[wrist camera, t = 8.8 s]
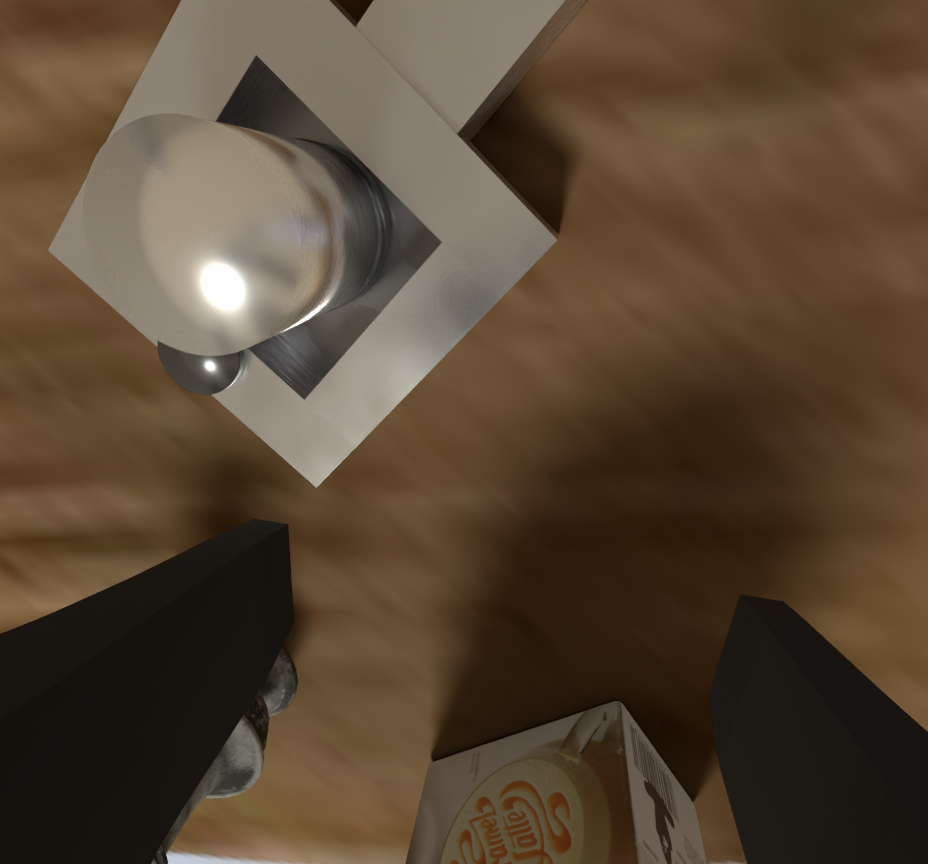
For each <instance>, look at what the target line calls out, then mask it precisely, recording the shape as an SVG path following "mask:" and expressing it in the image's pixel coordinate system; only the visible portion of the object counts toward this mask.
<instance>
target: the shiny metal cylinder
mask: <svg viewBox="0 0 928 864" xmlns="http://www.w3.org/2000/svg"><path fill="white" fill-rule="evenodd" d="M83 221H84V230H85V236H86V240H87V245H88V249H89V252H90V255H91V258H92V261H93V264H94V266H95V268H96V271H97V273H98V275H99V277H100V279H101V281H102V283H103V284H104V286H105V288H106V290H107V291H108V293H109V294H110V296H111V297H112V298H113V300H114V301H115V303H116V304H117V305H118V306H119V308H120V309H121V310H122V311H123V312H124V313H125V315H126V316H127V317H128V318H129V319H131V320H132V321H133V322H134V323H135V324H136V325H137V326H138V327H139V328H141V329H142V330H143V331H144V332H146V333H147V334H148V335H150V336H152V337H153V338H155V339H156V340H158V341H160V342H161V343H163V344H166V345H168V346H170V347H172V348H174V349H177V350H180V351H183V352H186V353H191V354H196V355H204V356H219V355H227V354H232V353H236V352H239V351H241V350H244V349H247V348H249V347H251V346H253V345H255V344H258V343H260V342H262V341H264V340H266V339H268V338H271V337H273V336H275V335H277V334H279V333H281V332H284V331H286V330H288V329H290V328H292V327H294V326H297V325H299V324H301V323H303V322H305V321H307V320H309V319H312V318H314V317H316V316H318V315H320V314H322V313H325V312H329V311H332V310H335V309H337V308H340V307H342V306H344V305H346V304H348V303H350V302H352V301H354V300H356V299H358V298H359V297H361V296H362V295H363V294H365V293H366V292H367V291H368V290H369V289H370V288H371V287H372V286H373V285H374V284H375V282H376V281H377V279H378V278H379V277H380V275H381V273H382V271H383V269H384V267H385V264H386V261H387V258H388V254H389V250H390V242H391V224H390V218H389V212H388V209H387V205H386V202H385V199H384V197H383V194H382V192H381V190H380V188H379V187H378V185H377V183H376V181H375V180H374V178H373V177H372V176H371V174H370V173H369V172H368V171H367V170H366V168H365V167H364V166H363V165H362V164H361V163H360V162H358V161H357V160H356V159H355V158H354V157H352V156H351V155H349V154H348V153H346V152H345V151H343V150H341V149H339V148H337V147H335V146H332V145H329V144H325V143H322V142H317V141H313V140H308V139H302V138H289V137H285V136H280V135H276V134H271V133H267V132H262V131H257V130H253V129H248V128H244V127H239V126H235V125H230V124H226V123H221V122H217V121H212V120H207V119H203V118H198V117H194V116H189V115H182V114H176V113H161V114H155V115H149V116H145V117H142V118H139V119H136V120H134V121H132V122H130V123H128V124H127V125H125V126H123V127H121V128H120V129H119V130H118V131H117V132H115V133H114V134H113V135H112V136H111V137H110V138H109V139H108V140H107V141H106V142H105V144H104V145H103V146H102V147H101V149H100V151H99V152H98V154H97V155H96V157H95V159H94V161H93V164H92V166H91V168H90V171H89V174H88V177H87V181H86V185H85V191H84V199H83Z"/></svg>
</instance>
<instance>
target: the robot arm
mask: <svg viewBox="0 0 928 864" xmlns="http://www.w3.org/2000/svg"><path fill="white" fill-rule="evenodd" d="M293 623H294V615H293V598H292V581H291V564H290V547H289V530H288V524H283V523H276V522H270V521H263V520H257V519H253V520H251V521H248V522H246V523H243V524H241V525H238V526H236V527H234V528H232V529H230V530H228V531H225V532H223V533H221V534H219V535H217V536H215V537H213V538H211V539H209V540H207V541H205V542H203V543H201V544H199V545H197V546H195V547H193V548H191V549H189V550H187V551H185V552H183V553H180V554H178V555H176V556H174V557H172V558H170V559H168V560H166V561H164V562H162V563H160V564H158V565H156V566H154V567H152V568H150V569H148V570H146V571H144V572H142V573H140V574H137V575H135V576H133V577H131V578H129V579H127V580H125V581H123V582H120V583H118V584H116V585H114V586H111V587H109V588H107V589H105V590H103V591H100V592H98V593H96V594H94V595H91V596H89V597H87V598H85V599H82V600H80V601H78V602H76V603H74V604H71V605H69V606H67V607H65V608H62V609H60V610H58V611H56V612H53V613H51V614H49V615H46V616H44V617H41V618H39V619H37V620H34V621H32V622H29V623H27V624H24V625H22V626H19V627H17V628H14V629H12V630H9V631H7V632H4V633H1V634H0V864H151V863H152V861H153V859H154V857H155V856H156V854H157V852H158V850H159V848H160V846H161V844H162V843H163V841H164V839H165V838H166V836H167V834H168V833H169V831H170V829H171V828H172V826H173V824H174V823H175V821H176V819H177V818H178V816H179V814H180V813H181V811H182V809H183V808H184V806H185V805H186V803H187V802H188V800H189V799H190V797H191V796H192V794H193V792H194V791H195V789H196V788H197V786H198V785H199V783H200V782H201V780H202V779H203V777H204V775H205V774H206V772H207V771H208V769H209V768H210V766H211V765H212V763H213V762H214V760H215V759H216V757H217V755H218V754H219V752H220V751H221V749H222V748H223V746H224V745H225V743H226V742H227V740H228V739H229V737H230V735H231V734H232V732H233V731H234V729H235V728H236V726H237V725H238V723H239V722H240V720H241V718H242V717H243V715H244V714H245V712H246V711H247V709H248V708H249V706H250V704H251V703H252V701H253V700H254V698H255V697H256V695H257V693H258V692H259V690H260V689H261V687H262V685H263V684H264V682H265V681H266V679H267V677H268V675H269V673H270V671H271V669H272V667H273V665H274V663H275V661H276V659H277V657H278V655H279V653H280V651H281V649H282V647H283V645H284V643H285V640H286V638H287V636H288V634H289V632H290V630H291V627H292V625H293ZM708 697H709V704H710V711H711V718H712V724H713V731H714V737H715V743H716V749H717V755H718V760H719V766H720V769H721V773H722V777H723V780H724V784H725V787H726V791H727V795H728V798H729V802H730V805H731V809H732V812H733V816H734V819H735V823H736V826H737V830H738V833H739V837H740V840H741V843H742V847H743V850H744V854H745V857H746V861H747V864H928V732H927V731H926V730H925V729H924V728H923V727H921V726H920V725H919V724H918V723H917V722H916V721H915V720H914V719H912V718H911V717H910V716H909V715H908V714H907V713H906V712H905V711H903V710H902V709H901V708H900V707H899V706H898V705H897V704H896V703H895V702H894V701H892V700H891V699H890V698H889V697H888V696H887V695H886V694H885V693H884V692H882V691H881V690H880V689H879V688H878V687H877V686H876V685H875V684H874V683H873V682H872V681H870V680H869V679H868V678H867V677H866V676H865V675H864V674H863V673H862V672H861V671H860V670H858V669H857V668H856V667H855V666H854V665H853V664H852V663H851V662H850V661H849V660H848V659H847V658H846V657H844V656H843V655H842V654H841V653H840V652H839V651H838V650H837V649H836V648H835V647H834V646H833V645H832V644H830V643H829V642H828V641H827V640H826V639H825V638H824V637H823V636H822V635H821V634H820V633H819V632H817V631H816V630H815V629H814V628H813V627H812V626H811V625H810V624H809V623H808V622H806V621H805V620H804V619H803V618H802V617H801V616H800V615H799V614H797V613H796V612H795V611H794V610H793V609H792V608H790V607H789V606H788V605H787V604H786V603H784V602H783V601H777V600H771V599H764V598H758V597H752V596H745V595H740V596H739V599H738V603H737V606H736V609H735V612H734V616H733V619H732V622H731V625H730V628H729V632H728V635H727V638H726V641H725V644H724V648H723V651H722V654H721V657H720V661H719V664H718V667H717V670H716V673H715V677H714V680H713V683H712V686H711V690H710V693H709V696H708Z"/></svg>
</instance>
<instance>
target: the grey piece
mask: <svg viewBox="0 0 928 864" xmlns="http://www.w3.org/2000/svg"><path fill="white" fill-rule="evenodd" d="M586 1H587V0H373V2H372V3H371V5H370V6H369V8H368V9H367V11H366V12H365V14H364V15H363V17H362V18H361V20H360V21H359V23H357V21H356V20H355V19H354V18H353V17H352V16H351V15H350V14H349V13H348V12H347V11H346V10H345V9H344V8H343V7H342V6H341V5H340V4H339V3H338V1H337V0H181V2H180V4H179V6H178V8H177V10H176V11H175V13H174V15H173V17H172V19H171V21H170V23H169V25H168V26H167V28H166V30H165V32H164V34H163V36H162V38H161V40H160V41H159V43H158V45H157V47H156V49H155V51H154V53H153V55H152V56H151V58H150V60H149V62H148V64H147V66H146V68H145V70H144V71H143V73H142V75H141V77H140V79H139V81H138V83H137V85H136V86H135V88H134V90H133V92H132V94H131V96H130V98H129V100H128V101H127V103H126V105H125V107H124V109H123V111H122V113H121V115H120V116H119V118H118V120H117V122H116V124H115V126H114V128H113V130H112V131H111V133H110V135H109V137H108V139H109V138H110V137H111V136H112V135H113V134H114V133H115V132H117V131H118V130H119V129H120V128H121V127H123V126H125V125H127V124H128V123H130V122H132V121H134V120H136V119H139V118H142V117H145V116H149V115H155V114H161V113H176V114H182V115H189V116H194V117H198V118H203V119H207V120H212V121H217V122H221V123H226V124H230V125H235V126H239V127H244V128H248V129H253V130H257V131H262V132H267V133H271V134H276V135H280V136H285V137H289V138H302V139H308V140H313V141H317V142H322V143H325V144H329V145H332V146H335V147H337V148H339V149H341V150H343V151H345V152H346V153H348V154H349V155H351V156H352V157H354V158H355V159H356V160H357V161H358V162H360V163H361V164H362V165H363V166H364V167H365V168H366V170H367V171H368V172H369V173H370V174H371V176H372V177H373V178H374V180H375V181H376V183H377V185H378V187H379V188H380V190H381V192H382V194H383V197H384V199H385V202H386V205H387V209H388V212H389V218H390V224H391V242H390V250H389V254H388V258H387V261H386V264H385V267H384V269H383V271H382V273H381V275H380V277H379V278H378V279H377V281H376V282H375V284H374V285H373V286H372V287H371V288H370V289H369V290H368V291H367V292H366V293H365V294H363V295H362V296H361V297H359V298H358V299H356V300H354V301H352V302H350V303H348V304H346V305H344V306H342V307H340V308H337V309H335V310H332V311H329V312H325V313H322V314H320V315H318V316H316V317H314V318H312V319H309V320H307V321H305V322H303V323H301V324H299V325H297V326H294V327H292V328H290V329H288V330H286V331H284V332H281V333H279V334H277V335H275V336H273V337H271V338H268V339H266V340H264V341H262V342H260V343H258V344H255V345H253V346H251V347H249V348H247V349H244V350H241V351H239V352H236V353H232V354H227V355H219V356H204V355H196V354H191V353H186V352H183V351H180V350H177V349H174V348H172V347H170V346H168V345H166V344H163V343H161V342H160V341H158V340H156V339H155V338H153V337H152V336H150V335H148V334H147V333H146V332H144V331H143V330H142V329H141V328H139V327H138V326H137V325H136V324H135V323H134V322H133V321H132V320H131V319H129V318H128V317H127V316H126V315H125V313H124V312H123V311H122V310H121V309H120V308H119V306H118V305H117V304H116V303H115V301H114V300H113V298H112V297H111V296H110V294H109V293H108V291H107V290H106V288H105V286H104V284H103V283H102V281H101V279H100V277H99V275H98V273H97V271H96V268H95V266H94V264H93V261H92V258H91V255H90V252H89V249H88V245H87V240H86V236H85V230H84V221H83V199H84V191H85V185H86V181H87V178H86V180H85V182H84V184H83V186H82V188H81V190H80V191H79V193H78V195H77V197H76V199H75V201H74V203H73V205H72V206H71V208H70V210H69V212H68V214H67V216H66V218H65V220H64V221H63V223H62V225H61V227H60V229H59V231H58V233H57V235H56V236H55V238H54V240H53V242H52V244H51V246H50V248H49V249H48V251H49V252H51V253H52V254H53V255H54V256H55V257H56V258H57V259H58V260H60V261H61V262H62V263H63V264H64V265H65V266H66V267H68V268H69V269H70V270H71V271H72V272H73V273H74V274H75V275H77V276H78V277H79V278H80V279H81V280H82V281H83V282H84V283H86V284H87V285H88V286H89V287H90V288H91V289H92V290H94V291H95V292H96V293H97V294H98V295H99V296H100V297H101V298H103V299H104V300H105V301H106V302H107V303H108V304H109V305H111V306H112V307H113V308H114V309H115V310H116V311H117V312H118V313H120V314H121V315H122V316H123V317H124V318H125V319H126V320H127V321H129V322H130V323H131V324H132V325H133V326H134V327H135V328H137V329H138V330H139V331H140V332H141V333H142V334H143V335H144V336H146V337H147V338H148V339H149V340H150V341H151V342H152V343H153V344H155V345H156V346H157V347H158V353H159V357H160V360H161V362H162V364H163V366H164V368H165V370H166V371H167V373H168V374H169V375H170V377H171V378H172V379H173V380H174V381H175V382H176V383H177V384H179V385H180V386H181V387H183V388H184V389H186V390H188V391H190V392H193V393H196V394H201V395H212V396H213V397H215V398H216V399H217V400H218V401H219V402H220V403H221V404H222V405H224V406H225V407H226V408H227V409H228V410H229V411H230V412H232V413H233V414H234V415H235V416H236V417H237V418H238V419H239V420H241V421H242V422H243V423H244V424H245V425H246V426H247V427H248V428H250V429H251V430H252V431H253V432H254V433H255V434H256V435H258V436H259V437H260V438H261V439H262V440H263V441H264V442H265V443H267V444H268V445H269V446H270V447H271V448H272V449H273V450H274V451H276V452H277V453H278V454H279V455H280V456H281V457H282V458H284V459H285V460H286V461H287V462H288V463H289V464H290V465H291V466H293V467H294V468H295V469H296V470H297V471H298V472H299V473H301V474H302V475H303V476H304V477H305V478H306V479H307V480H308V481H310V482H311V483H312V484H313V485H314V486H315V487H316V488H317V487H318V486H319V485H320V484H321V483H322V482H323V481H324V480H325V479H326V477H327V476H328V475H329V474H330V473H331V472H332V471H333V470H334V469H335V468H336V467H337V466H338V465H339V464H340V463H341V462H342V461H343V460H344V459H345V458H346V457H347V456H348V455H349V454H350V453H351V452H352V451H353V450H354V449H355V448H356V447H357V446H358V445H359V444H360V443H361V441H362V440H363V439H364V438H365V437H366V436H367V435H368V434H369V433H370V432H371V431H372V430H373V429H374V428H375V427H376V426H377V425H378V424H379V423H380V422H381V421H382V420H383V419H384V418H385V417H386V416H387V415H388V414H389V413H390V412H391V411H392V410H393V409H394V408H395V407H396V406H397V404H398V403H399V402H400V401H401V400H402V399H403V398H404V397H405V396H406V395H407V394H408V393H409V392H410V391H411V390H412V389H413V388H414V387H415V386H416V385H417V384H418V383H419V382H420V381H421V380H422V379H423V378H424V377H425V376H426V375H427V374H428V373H429V372H430V371H431V370H432V369H433V367H434V366H435V365H436V364H437V363H438V362H439V361H440V360H441V359H442V358H443V357H444V356H445V355H446V354H447V353H448V352H449V351H450V350H451V349H452V348H453V347H454V346H455V345H456V344H457V343H458V342H459V341H460V340H461V339H462V338H463V337H464V336H465V335H466V334H467V333H468V332H469V330H470V329H471V328H472V327H473V326H474V325H475V324H476V323H477V322H478V321H479V320H480V319H481V318H482V317H483V316H484V315H485V314H486V313H487V312H488V311H489V310H490V309H491V308H492V307H493V306H494V305H495V304H496V303H497V302H498V301H499V300H500V299H501V298H502V297H503V296H504V295H505V293H506V292H507V291H508V290H509V289H510V288H511V287H512V286H513V285H514V284H515V283H516V282H517V281H518V280H519V279H520V278H521V277H522V276H523V275H524V274H525V273H526V272H527V271H528V270H529V269H530V268H531V267H532V266H533V265H534V264H535V263H536V262H537V261H538V260H539V259H540V258H541V256H542V255H543V254H544V253H545V252H546V251H547V250H548V249H549V248H550V247H551V246H552V245H553V244H554V243H555V242H556V241H557V240H558V237H559V234H558V233H557V232H556V231H555V230H554V229H553V228H552V227H551V226H550V225H549V224H548V223H547V222H546V221H545V220H544V218H543V217H542V216H541V215H540V214H539V213H538V212H537V211H536V210H535V209H534V208H533V207H532V206H531V205H530V204H529V203H528V202H527V201H526V200H525V198H524V197H523V196H522V195H521V194H520V193H519V192H518V191H517V190H516V189H515V188H514V187H513V186H512V185H511V184H510V183H509V182H508V181H507V179H506V178H505V177H504V176H503V175H502V174H501V173H500V172H499V171H498V170H497V169H496V168H495V167H494V166H493V165H492V164H491V163H490V162H489V161H488V159H487V158H486V157H485V156H484V155H483V154H482V153H481V152H480V151H479V150H478V149H477V148H476V147H475V146H474V145H473V144H472V143H471V140H472V139H473V138H474V137H475V136H476V134H477V133H478V132H479V131H480V129H481V128H482V127H483V126H484V125H485V123H486V122H487V121H488V120H489V119H490V117H491V116H492V115H493V114H494V113H495V111H496V110H497V109H498V108H499V106H500V105H501V104H502V103H503V102H504V100H505V99H506V98H507V97H508V96H509V94H510V93H511V92H512V91H513V90H514V88H515V87H516V86H517V85H518V83H519V82H520V81H521V80H522V79H523V77H524V76H525V75H526V74H527V73H528V71H529V70H530V69H531V68H532V67H533V65H534V64H535V63H536V62H537V60H538V59H539V58H540V57H541V56H542V54H543V53H544V52H545V51H546V50H547V48H548V47H549V46H550V45H551V44H552V42H553V41H554V40H555V39H556V38H557V36H558V35H559V34H560V33H561V31H562V30H563V29H564V28H565V27H566V25H567V24H568V23H569V22H570V21H571V19H572V18H573V17H574V16H575V15H576V13H577V12H578V11H579V10H580V8H581V7H582V6H583V5H584V4H585V2H586ZM108 139H107V140H108ZM87 177H88V176H87Z"/></svg>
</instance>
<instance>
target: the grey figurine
mask: <svg viewBox="0 0 928 864" xmlns="http://www.w3.org/2000/svg"><path fill="white" fill-rule="evenodd" d="M296 688H297V676H296V670H295V668H294V666H293V664H292V661H291V659H290V657H289V656H288V655H287V653H286V652H285V651H284V650H283V648H282V649H281V651H280V653H279V655H278V657H277V659H276V661H275V663H274V665H273V667H272V669H271V671H270V673H269V675H268V677H267V679H266V681H265V682H264V684H263V685H262V687H261V689H260V690H259V692H258V693H257V695H256V697H255V698H254V700H253V701H252V703H251V704H250V706H249V708H248V709H247V711H246V712H245V714H244V715H243V717H242V718H241V720H240V722H239V723H238V725H237V726H236V728H235V729H234V731H233V732H232V734H231V735H230V737H229V739H228V740H227V742H226V743H225V745H224V746H223V748H222V749H221V751H220V752H219V754H218V755H217V757H216V759H215V760H214V762H213V763H212V765H211V766H210V768H209V769H208V771H207V772H206V774H205V775H204V777H203V779H202V780H201V782H200V783H199V785H198V786H197V788H196V789H195V791H194V792H193V794H192V796H191V797H190V799H189V800H188V802H187V803H186V805H185V806H184V808H183V809H182V811H181V813H180V814H179V816H178V818H177V819H176V821H175V823H174V824H173V826H172V828H171V829H170V831H169V833H168V834H167V836H166V838H165V839H164V841H163V843H162V844H161V846H160V848H159V850H158V852H157V854H156V856H155V857H154V859H153V861H152V863H151V864H168V860H167V856H166V853H167V851H168V850H169V848H170V847H171V845H172V843H173V842H174V840H175V838H176V837H177V835H178V834H179V832H180V830H181V829H182V827H183V825H184V824H185V822H186V821H187V819H188V817H189V816H190V814H191V813H192V812H193V810H194V809H195V808H196V807H197V806H198V804H199V803H200V802H201V801H202V800H203V799H204V798H227V797H230V796H234V795H237V794H240V793H243V792H244V791H246V790H247V789H249V788H250V787H251V786H253V785H254V784H255V782H256V780H257V779H258V777H259V776H260V774H261V772H262V769H263V763H264V754H263V751H264V749H265V746H266V740H267V733H268V725H269V717H270V716H273V715H276V714H279V713H280V712H281V711H283V710H284V709H285V708H287V707H288V706H289V704H290V703H291V701H292V699H293V698H294V696H295V694H296Z"/></svg>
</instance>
